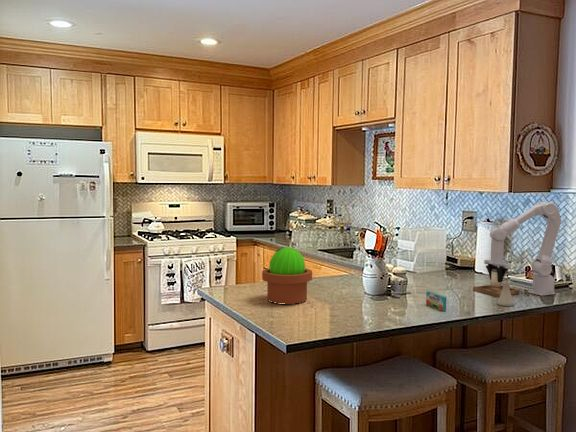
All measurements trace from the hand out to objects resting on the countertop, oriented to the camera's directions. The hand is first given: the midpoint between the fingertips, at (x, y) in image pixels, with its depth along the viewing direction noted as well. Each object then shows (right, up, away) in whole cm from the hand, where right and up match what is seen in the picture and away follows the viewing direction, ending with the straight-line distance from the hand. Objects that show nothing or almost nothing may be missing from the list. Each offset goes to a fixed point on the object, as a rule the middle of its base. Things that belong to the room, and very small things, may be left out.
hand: (496, 280), depth 249 cm
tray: (0, -6, 0) cm, 6 cm away
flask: (-5, -8, -23) cm, 25 cm away
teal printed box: (-38, -8, -29) cm, 48 cm away
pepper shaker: (0, -2, 0) cm, 2 cm away
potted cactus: (-101, -7, -16) cm, 103 cm away
